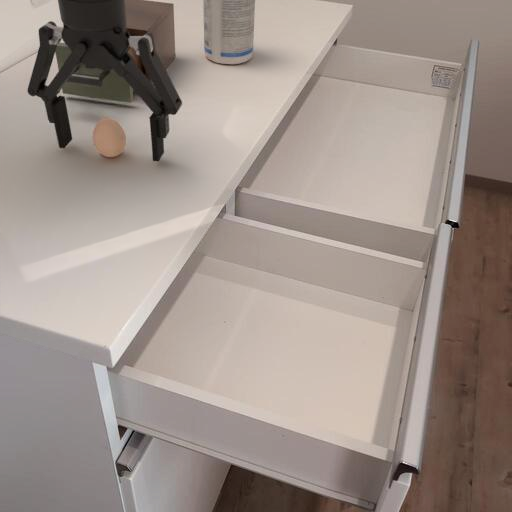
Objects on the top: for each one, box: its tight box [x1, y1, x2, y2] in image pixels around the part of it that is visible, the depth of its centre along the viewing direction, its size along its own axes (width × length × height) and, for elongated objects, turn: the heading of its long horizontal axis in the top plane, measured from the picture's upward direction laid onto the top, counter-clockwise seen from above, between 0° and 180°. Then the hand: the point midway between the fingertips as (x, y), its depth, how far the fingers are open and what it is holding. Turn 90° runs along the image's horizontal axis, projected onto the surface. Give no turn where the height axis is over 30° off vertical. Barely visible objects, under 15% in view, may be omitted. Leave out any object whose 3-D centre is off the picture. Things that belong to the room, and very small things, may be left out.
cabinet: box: [125, 0, 176, 86], centre depth 97 cm, size 15×13×10 cm
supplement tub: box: [202, 0, 256, 65], centre depth 102 cm, size 10×10×15 cm
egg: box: [92, 117, 127, 158], centre depth 75 cm, size 4×4×6 cm
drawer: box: [55, 34, 145, 104], centre depth 89 cm, size 19×12×8 cm, turn 170°
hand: (111, 150), depth 77 cm, fingers open, 13 cm apart
